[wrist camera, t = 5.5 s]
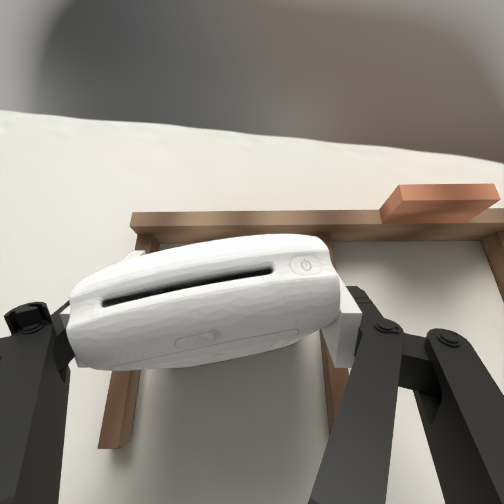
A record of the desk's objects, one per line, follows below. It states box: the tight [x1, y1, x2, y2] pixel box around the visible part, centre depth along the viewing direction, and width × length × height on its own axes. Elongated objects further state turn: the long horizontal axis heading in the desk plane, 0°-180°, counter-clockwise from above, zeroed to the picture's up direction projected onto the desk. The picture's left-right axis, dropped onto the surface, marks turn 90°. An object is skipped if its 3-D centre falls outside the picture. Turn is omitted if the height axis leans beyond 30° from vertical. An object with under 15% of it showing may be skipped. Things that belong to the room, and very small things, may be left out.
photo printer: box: [66, 234, 341, 371], centre depth 14 cm, size 10×4×12 cm, turn 101°
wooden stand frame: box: [98, 184, 504, 449], centre depth 17 cm, size 29×15×6 cm, turn 90°
